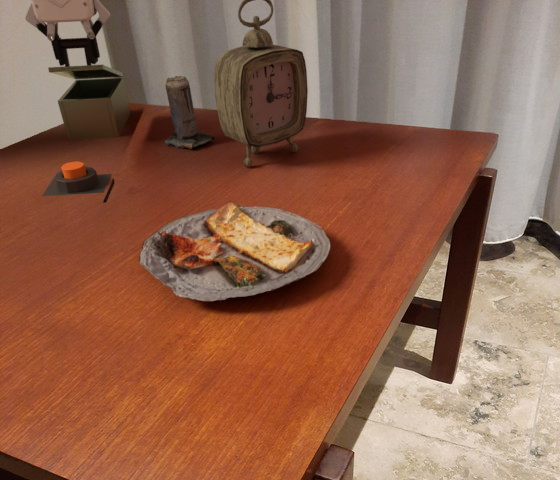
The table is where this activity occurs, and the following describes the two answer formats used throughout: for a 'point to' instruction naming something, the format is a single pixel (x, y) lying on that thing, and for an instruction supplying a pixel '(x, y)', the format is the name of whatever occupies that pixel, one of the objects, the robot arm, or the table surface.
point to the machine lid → (81, 71)
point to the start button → (74, 170)
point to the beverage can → (183, 115)
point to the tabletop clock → (261, 90)
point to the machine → (95, 108)
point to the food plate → (234, 251)
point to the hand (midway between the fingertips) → (79, 62)
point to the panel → (80, 184)
